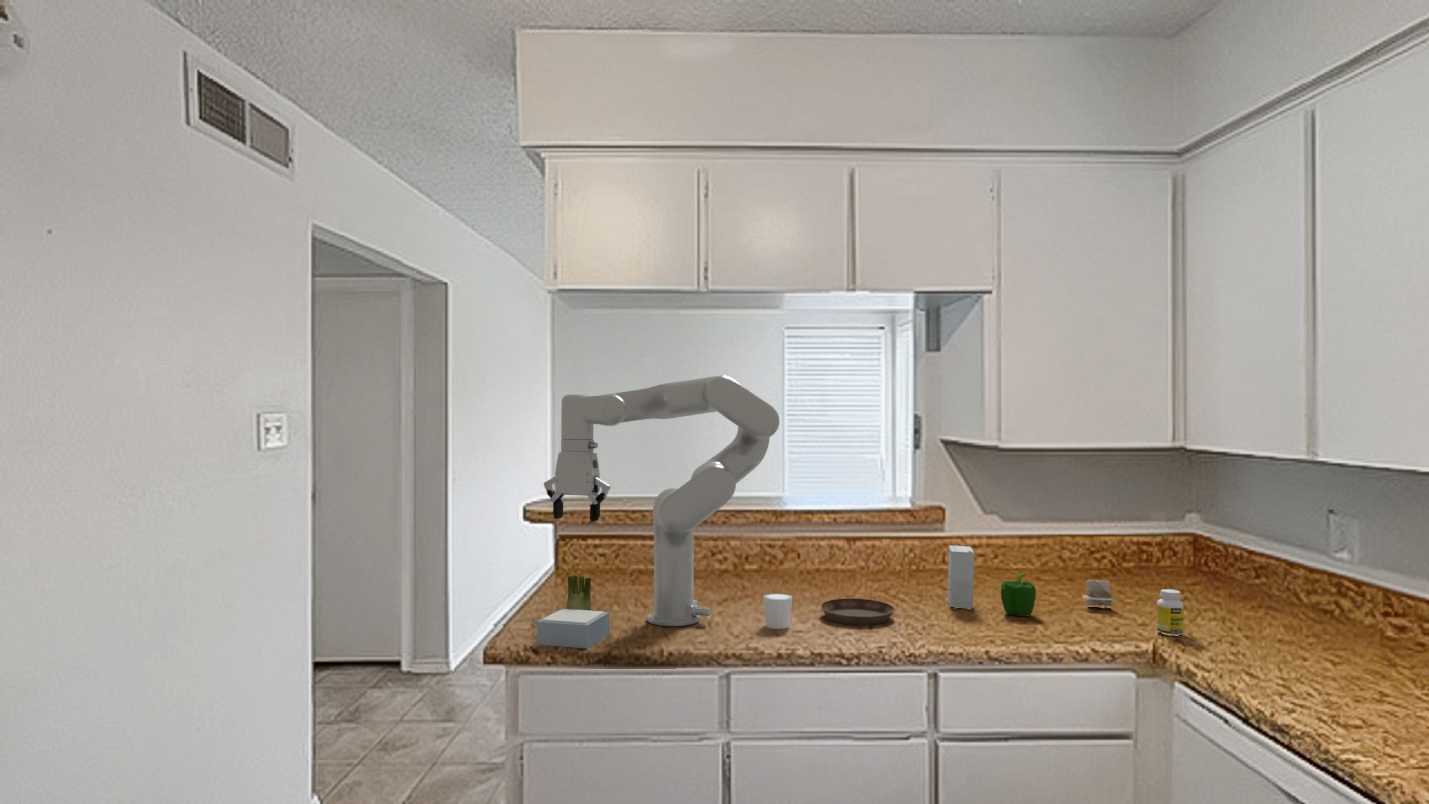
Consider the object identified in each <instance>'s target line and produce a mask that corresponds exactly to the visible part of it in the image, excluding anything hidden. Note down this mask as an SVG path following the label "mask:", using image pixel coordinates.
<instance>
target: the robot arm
mask: <svg viewBox="0 0 1429 804" xmlns="http://www.w3.org/2000/svg"><path fill="white" fill-rule="evenodd" d="M716 412H717V413H719V414H720V415H721V416H723V417H724V418H725V419H727V420H729V421H730V422H731V423H733V424H734V425H736V426H737V432H736V435H735V437H734V439H733V440H732V441H731V442H730V443H729V444H728V445H726V446H725V447H724V448H723V449H722V450H720V451H719V452H718V453H717V454H715V455H713V456H712V457H711V458H710V459H708V460H706V462H704V463H702V464H701V465H699V466H698V467H696V469H695V470H693V472H692V475H691V477H690V479H689V480H688V481H686V482H685V483H683V485H681V486H680V487H678V488H675V487H673V488H672V487H671V488H667V489H664V490H663V491H661V492H660V493H659V494H658V495H657V496H656V497H655V499H654V502H653V507H652V523H653V524H652V525H653V601H654V602H653V611H652V612H650V613H649V614H648V615H647V622H649V624H652V625H654V626H656V625H657V626H662V627H685V626H686V627H687V626H692V625H694V623H695V624H697V623H699V622H700V621H701V616H702V617H710V616H711V608H710V607H708V606H705V605H704V606H703V605H702V606H700V605H699V604H698V600H697V599H694V582H695V581H694V579H695V578H694V575H695V574H694V566H695V565H694V559H695V557H694V556H695V554H694V553H695V550H694V549H695V548H694V547H695V542H694V540H695V539H694V528H696V527H697V526H698V525H700V524H701V523H702V522H704V521H705V520H707V519H708V518H709V517H711V516H712V515H713V514H715V513H716V512H717V511H719V510H720V509H721V508H722V507H724V506H725V505H726V504H727V503H728V502H729V501H730V500H731V499H732V497H733V496H734V494H735V491H736V485H737V484H738V483H739V482H740V481H742V480H743V479H744V478H745V477H746V476H748V475H749V474H750V473H751V472H752V471H754V470H755V469H756V468H758V466H759V465H760V464H761V463H762V461H763V459H764V458H765V456H766V454H767V452H768V449H769V445H770V439H771V437H772V436H773V435H775V434H776V432H777V431H778V429H779V426H780V416H779V413H778V411H777V410H776V409H775V408H774V406H772V405H771V404H770V403H769V402H767V401H765V400H764V399H762V398H761V397H760V396H758V395H756V394H755V393H754V392H752V391H751V390H749V389H748V388H746V387H745V386H743V385H742V384H740V383H739V382H738V381H736V380H735V379H733V378H732V377H730V376H727V375H715V376H707V377H702V378H701V377H700V378H695V379H688V380H681V381H675V382H667V383H660V384H657V385H654V386H650V387H646V388H640V389H634V390H627V391H620V392H614V393H613V392H612V393H606V394H600V395H599V394H598V395H589V394H575V393H574V394H565V395H564V396H563V397H562V399H561V418H560V423H561V426H560V428H561V429H560V431H561V432H560V433H561V434H560V437H561V438H560V439H561V440H560V451H559V452H558V454H557V459H556V466H555V471H554V472H555V473H554V477H552V478H550V479H548V480H546V481H545V482H543V486H544V489H545V491H546V494H547V496H548V497H549V498H550V501H551V502H552V515H553V520H557V519H562V518H563V517H564V501H563V500H562V499H563V498H564V497H565V496H567V495H568V496H583V497H584V496H585V497H586V496H587V497H588V499H589V500H590V502H591V504H590V505H589V521H590V522H596V521H599V520H600V517H601V504H602V502H603V501H604V500H605V499H606V498H607V497H608V493H609V492H610V490H611V487H612V486H611V485H610V484H608V483H607V482H605V481H604V480H603V479H601V476H600V466H599V465H600V464H599V459H598V454H597V453H596V452H594V450H595V449H598V447H599V443H598V442H595V440H594V425H600V426H608V427H614V426H617V425H619V424H624V423H627V422H628V423H630V422H636V421H642V420H651V419H652V420H655V419H656V420H657V419H658V420H667V419H668V420H670V419H678V418H682V417H690V416H695V415H703V414H709V413H716ZM553 486H554V487H553ZM600 491H601V492H600Z"/></svg>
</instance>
